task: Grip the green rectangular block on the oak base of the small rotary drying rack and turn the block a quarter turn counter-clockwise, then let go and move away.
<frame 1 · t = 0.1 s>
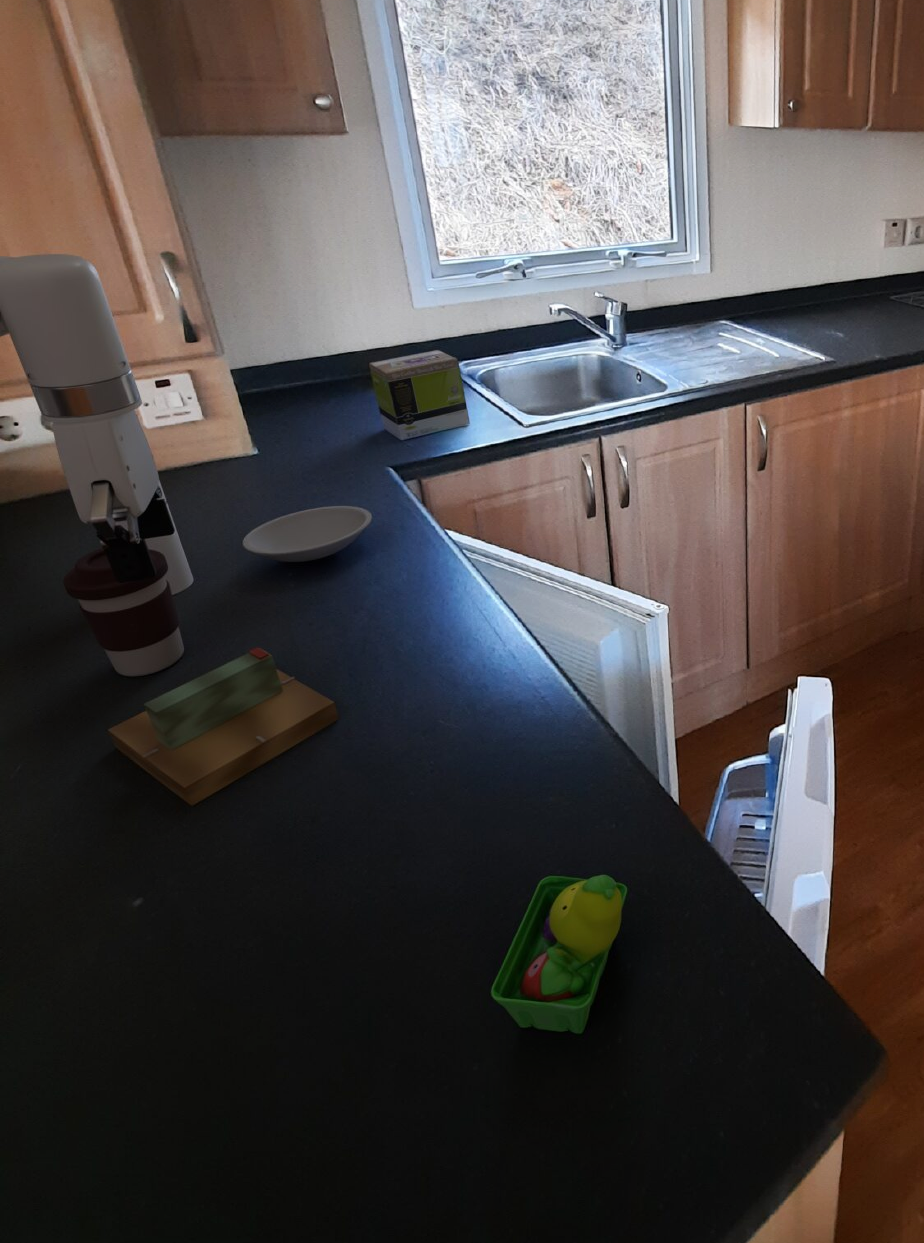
hand: (148, 556, 87), 22 cm above the countertop, tool pointing down, fingers open, 9 cm apart
coffee cup: (151, 662, 108), on the countertop
cylindrical container: (164, 587, 124), on the countertop
fruit basket: (576, 981, 70), on the countertop
tea box: (426, 428, 183), on the countertop
dish: (317, 558, 132), on the countertop
green rectangular block: (216, 696, 94), point 5 cm above the countertop, hinge at 0.0°
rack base: (229, 733, 96), on the countertop
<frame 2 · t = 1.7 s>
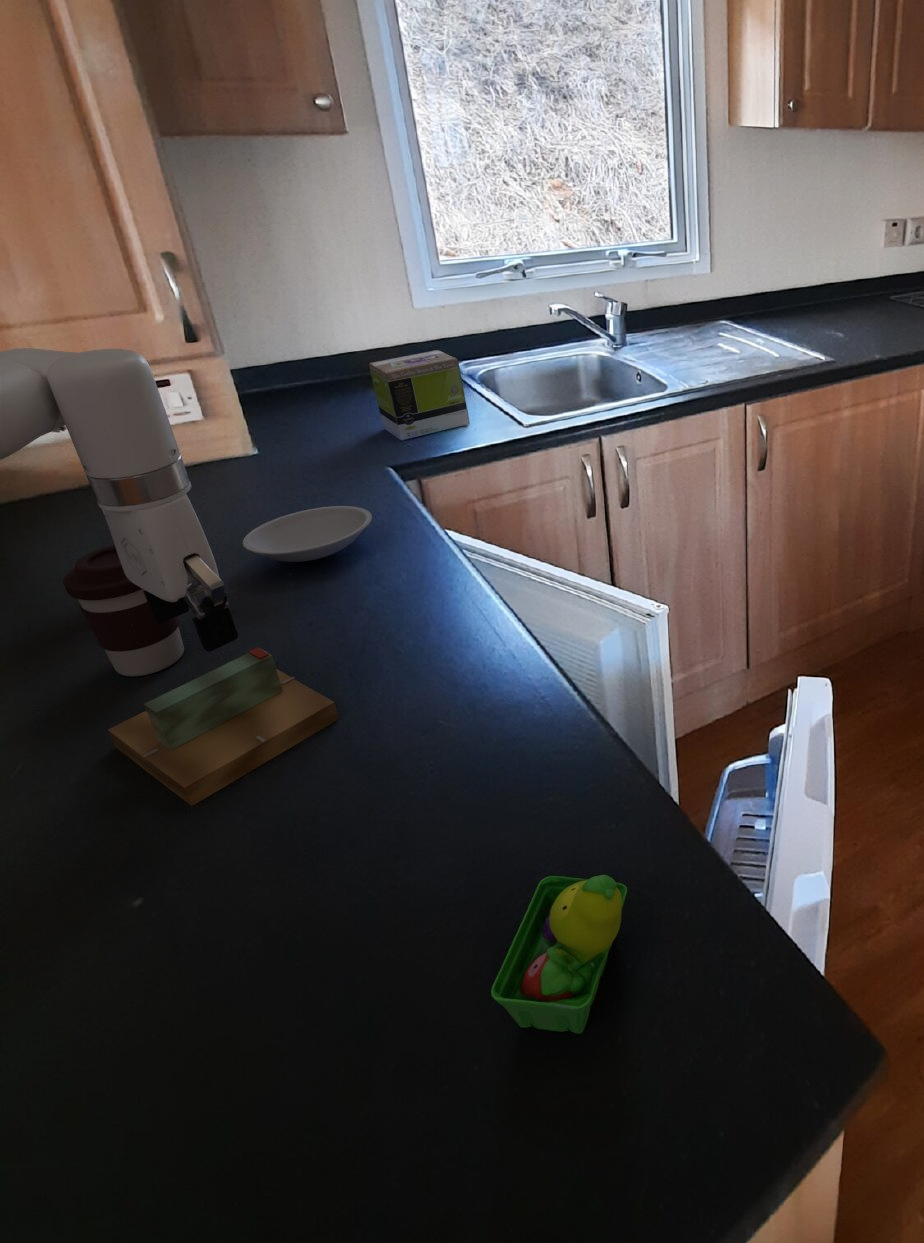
hand: (196, 630, 90), 14 cm above the countertop, tool pointing down, fingers open, 9 cm apart
nothing on the countertop moved.
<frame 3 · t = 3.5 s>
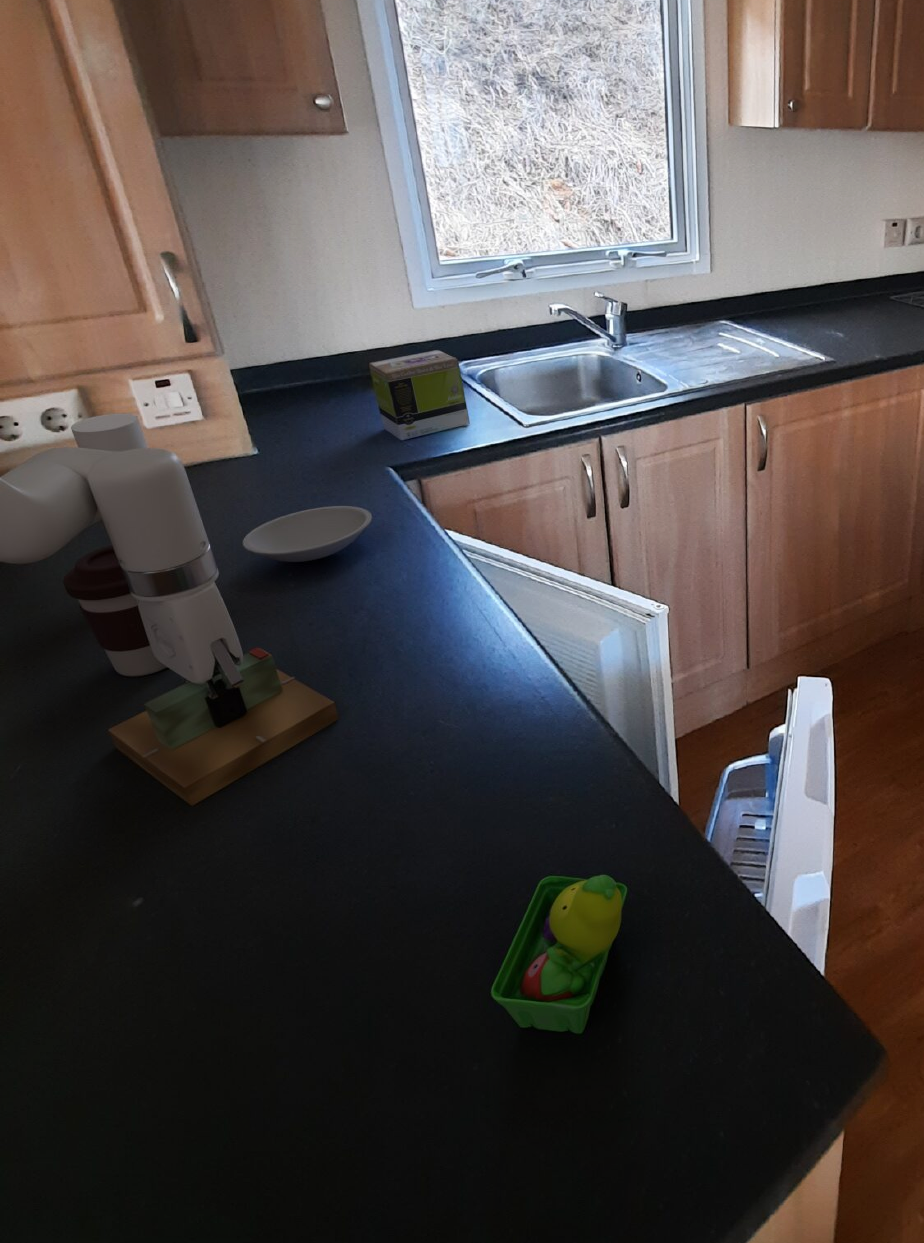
hand: (222, 713, 95), 3 cm above the countertop, tool pointing down, fingers closed on green rectangular block, 2 cm apart
green rectangular block: (216, 696, 94), point 5 cm above the countertop, hinge at 0.0°, touching gripper
everything else where it was.
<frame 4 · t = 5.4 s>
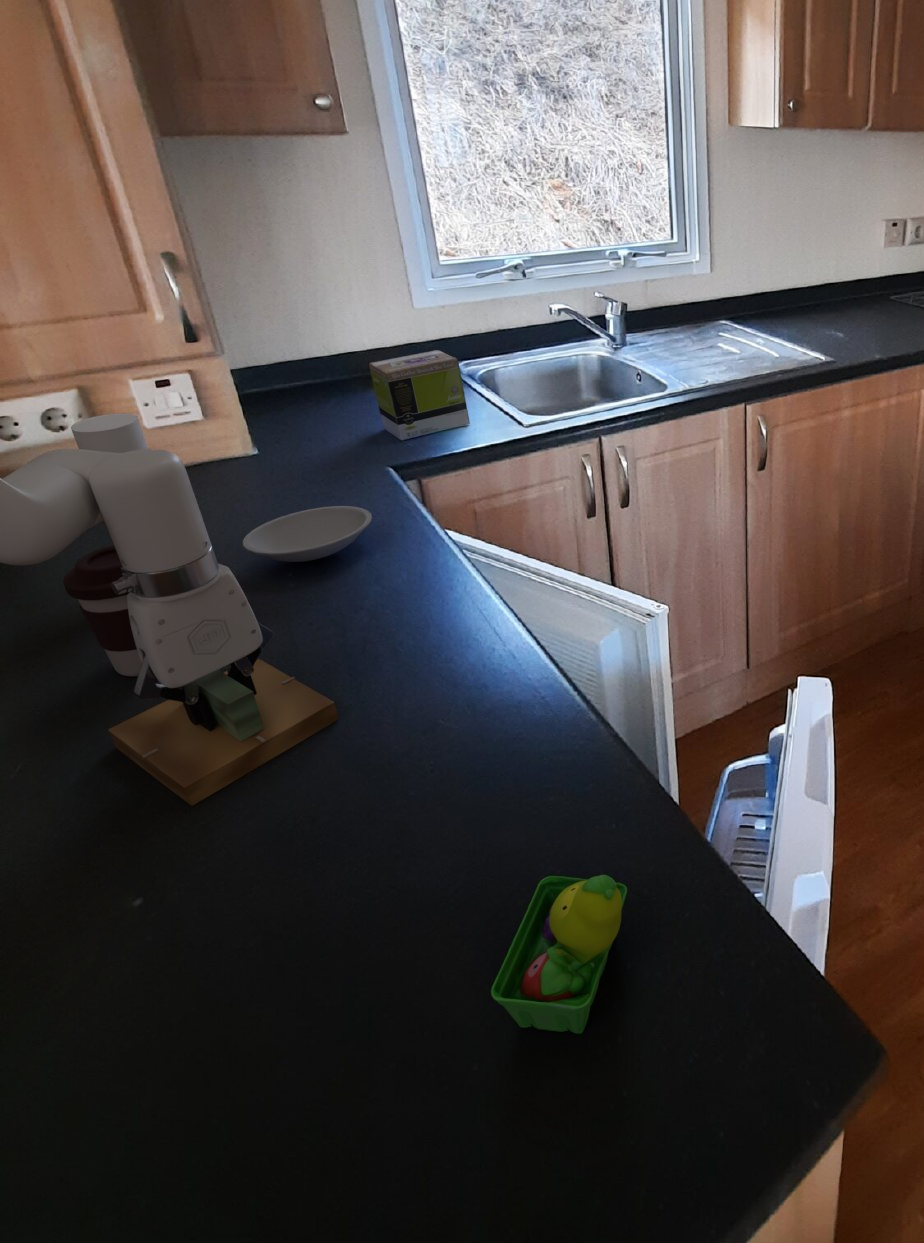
hand: (226, 713, 95), 3 cm above the countertop, tool pointing down, fingers open, 3 cm apart
green rectangular block: (216, 696, 94), point 5 cm above the countertop, hinge at 89.5°
everything else where it was.
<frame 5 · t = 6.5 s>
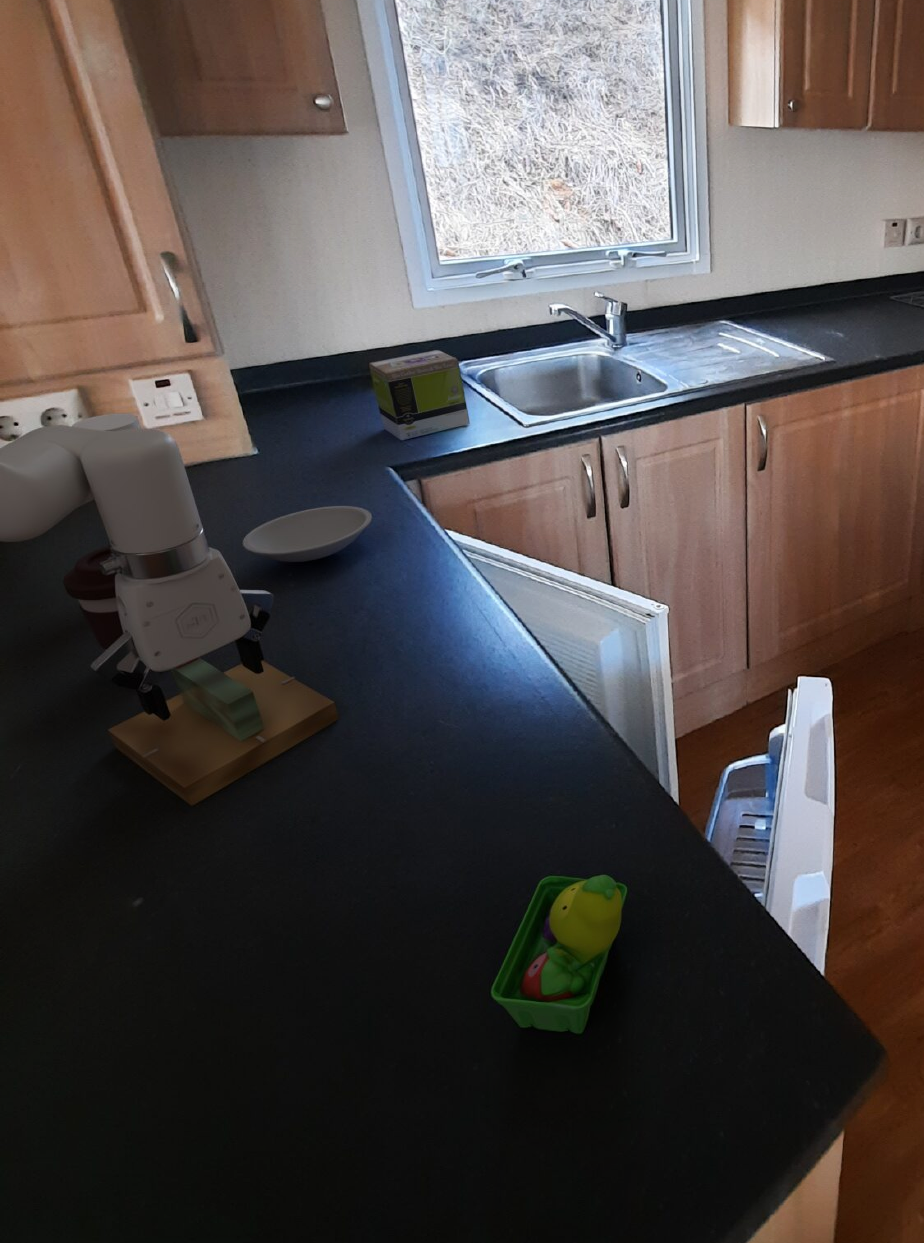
hand: (208, 691, 93), 6 cm above the countertop, tool pointing down, fingers open, 9 cm apart
nothing on the countertop moved.
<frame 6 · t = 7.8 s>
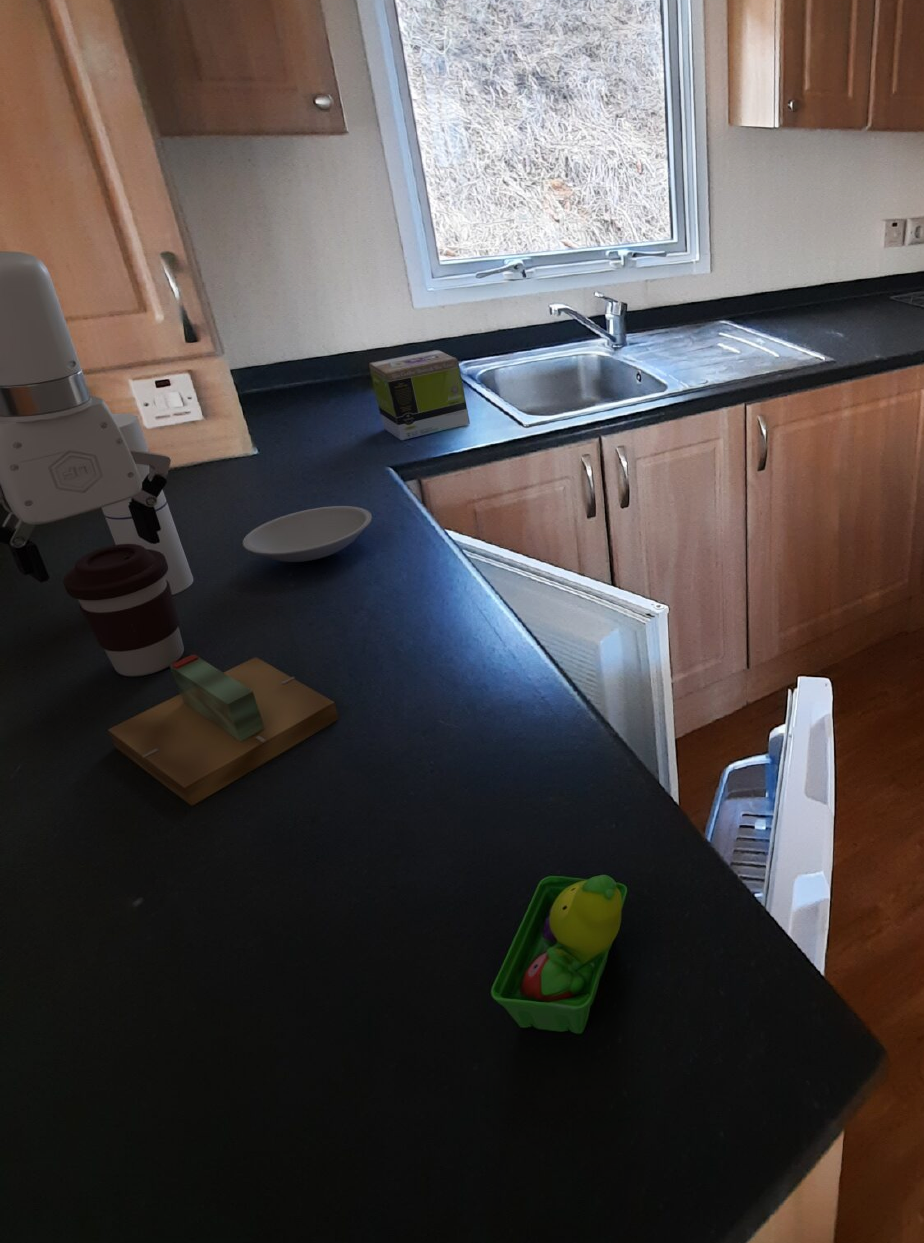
hand: (96, 557, 86), 22 cm above the countertop, tool pointing down, fingers open, 9 cm apart
nothing on the countertop moved.
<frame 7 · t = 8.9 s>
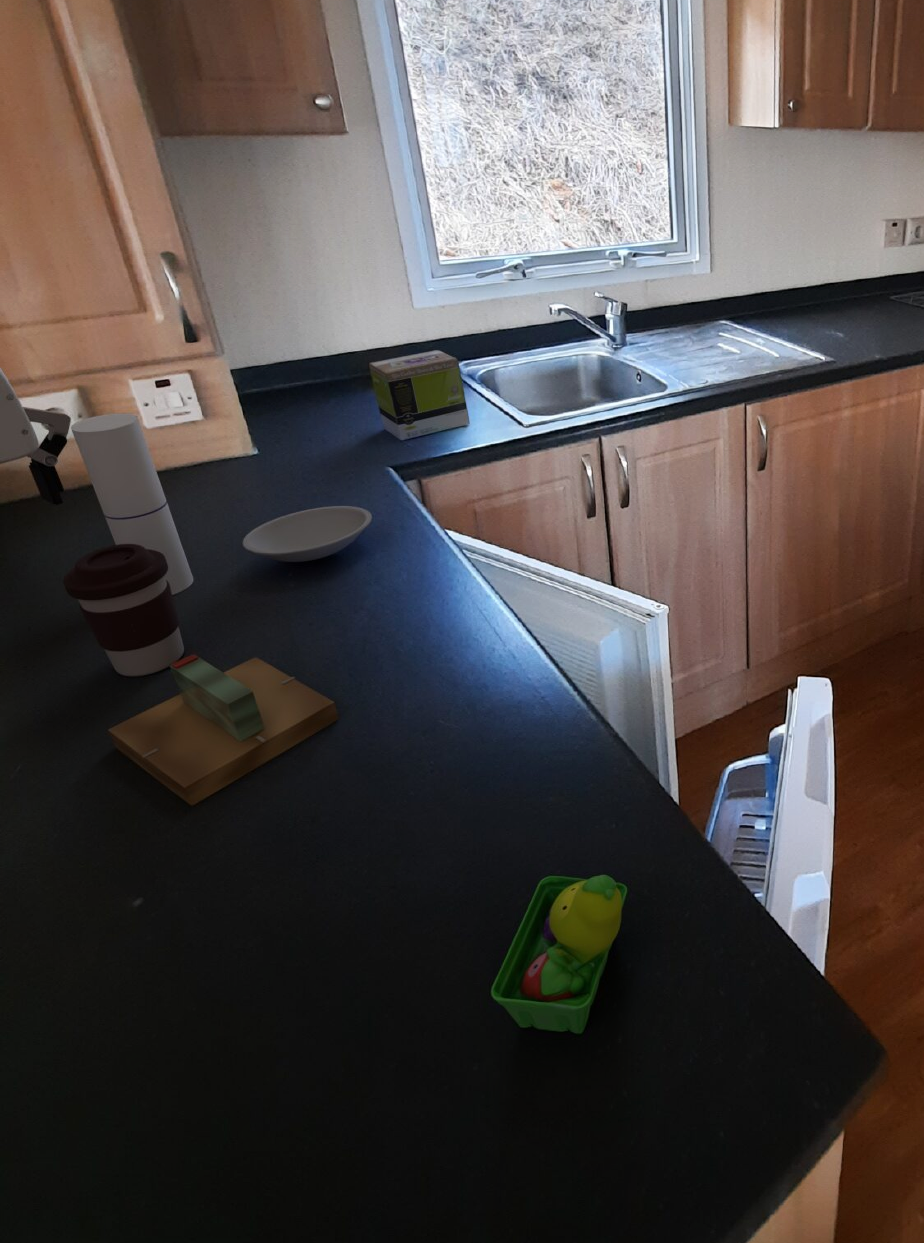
nothing on the countertop moved.
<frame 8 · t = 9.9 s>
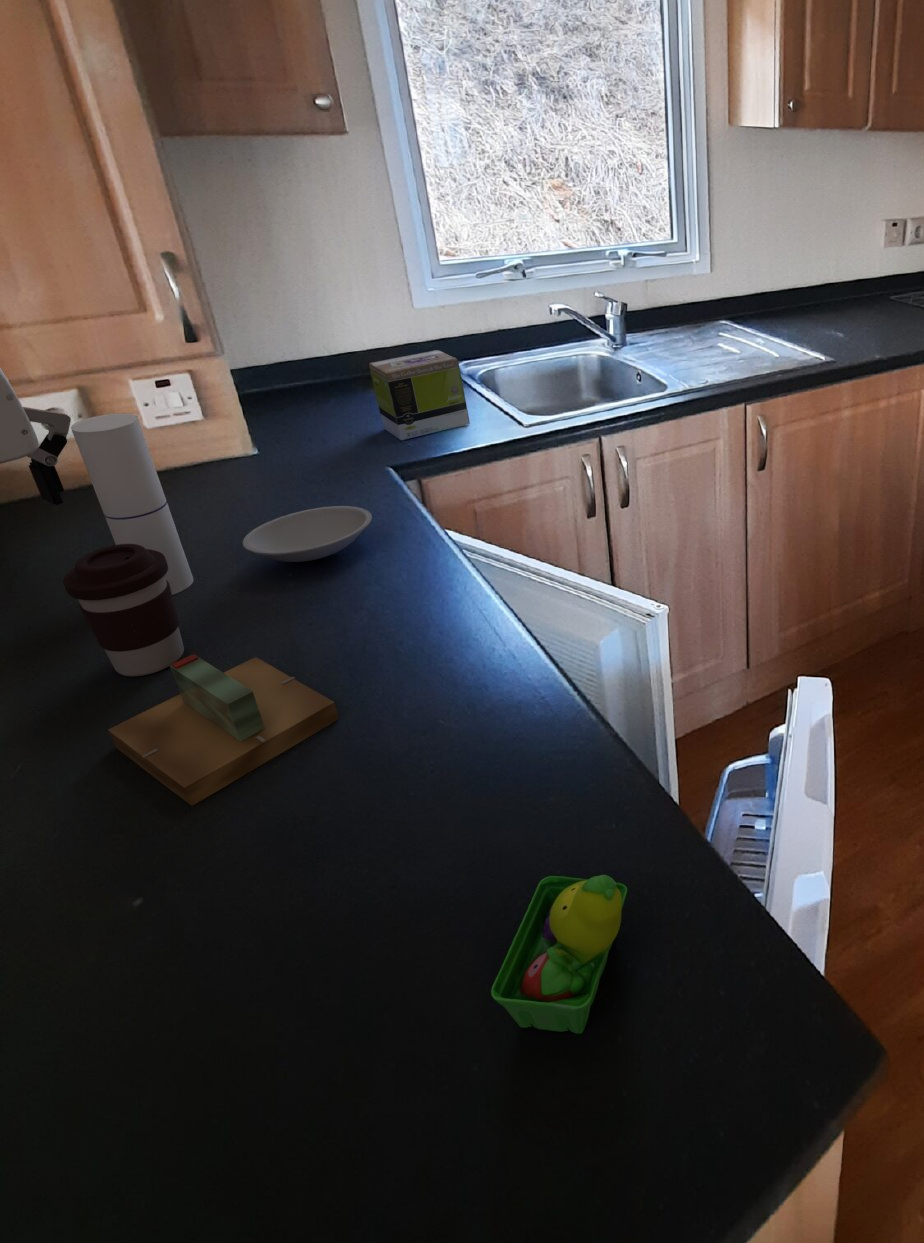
nothing on the countertop moved.
at the end: green rectangular block at +90° (first picture: +0°); coffee cup moved 0.2 cm from its start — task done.
